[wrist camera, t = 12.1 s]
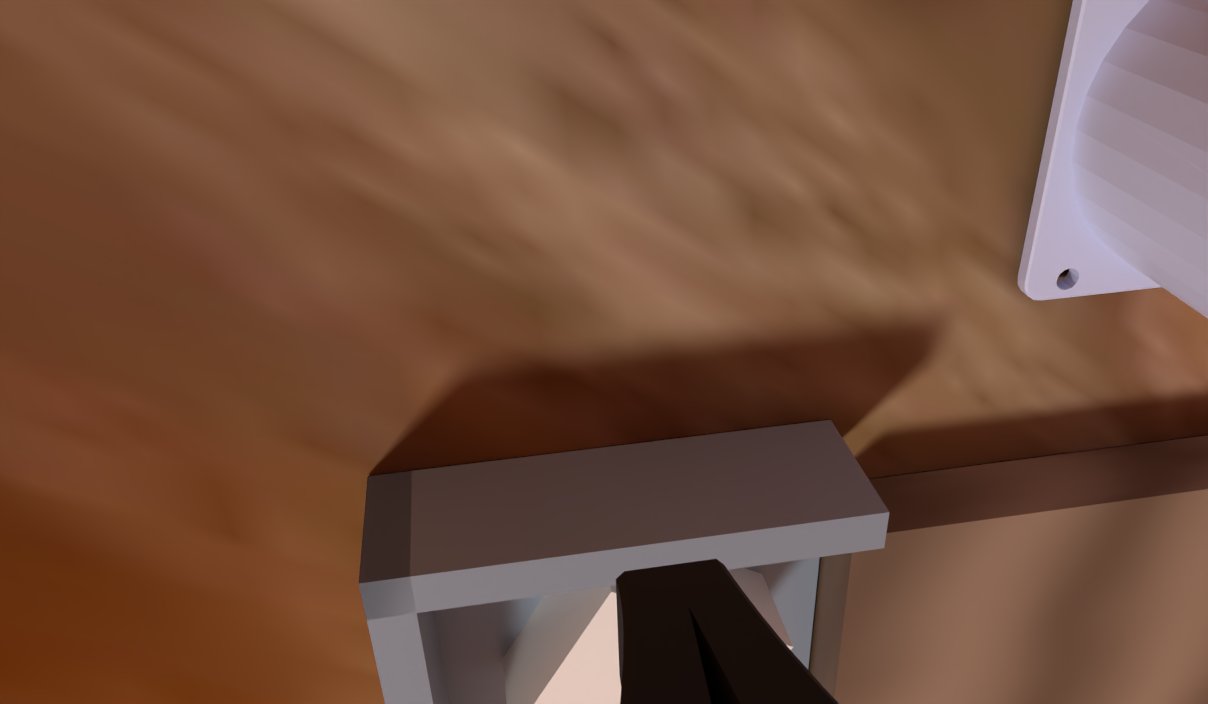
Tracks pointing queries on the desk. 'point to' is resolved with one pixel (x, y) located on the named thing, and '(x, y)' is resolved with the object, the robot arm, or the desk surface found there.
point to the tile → (590, 645)
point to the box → (594, 540)
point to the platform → (1027, 585)
